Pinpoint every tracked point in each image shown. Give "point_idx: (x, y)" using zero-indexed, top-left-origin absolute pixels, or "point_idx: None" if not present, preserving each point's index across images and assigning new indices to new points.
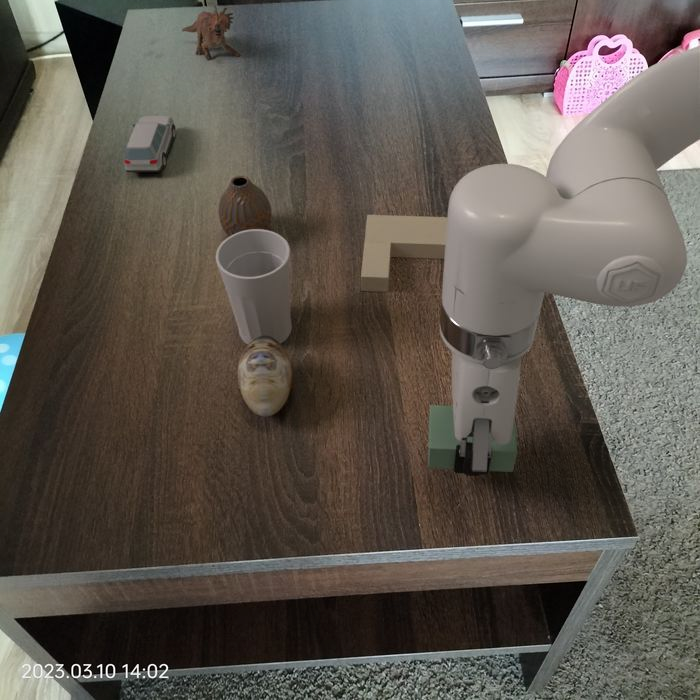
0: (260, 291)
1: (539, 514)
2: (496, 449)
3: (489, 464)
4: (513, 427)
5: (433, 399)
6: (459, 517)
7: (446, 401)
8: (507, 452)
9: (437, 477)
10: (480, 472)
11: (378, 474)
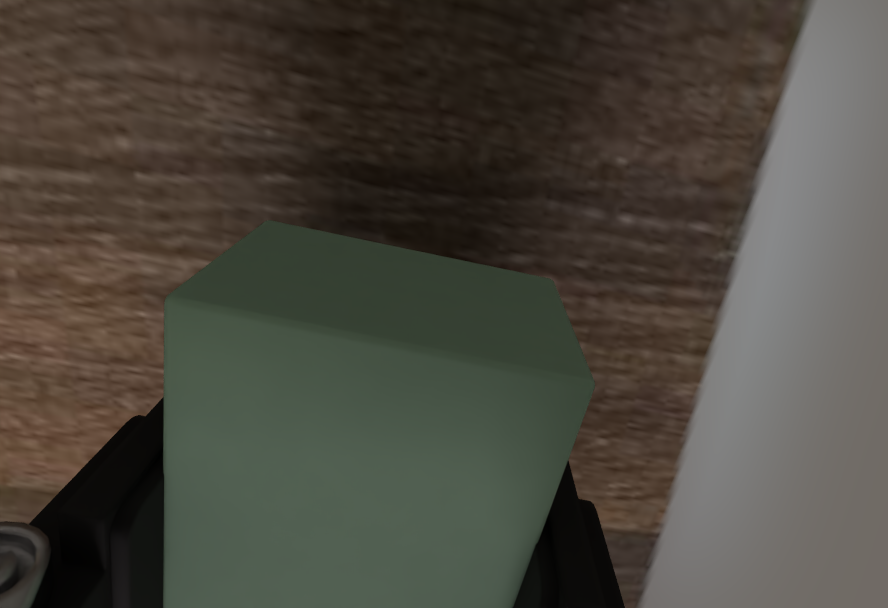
0: None
1: (657, 113)
2: (537, 504)
3: (574, 485)
4: (361, 350)
5: (71, 393)
6: (590, 412)
7: (76, 350)
8: (572, 437)
9: None
10: (595, 516)
11: None
